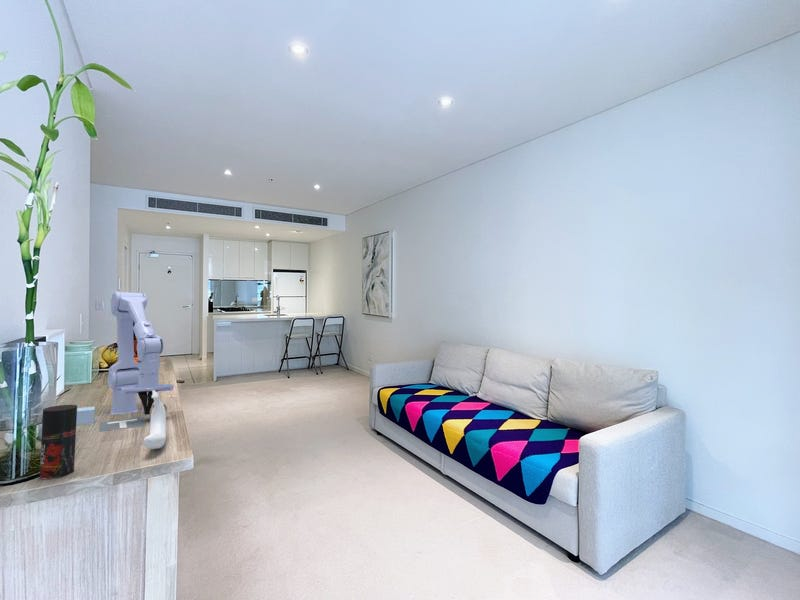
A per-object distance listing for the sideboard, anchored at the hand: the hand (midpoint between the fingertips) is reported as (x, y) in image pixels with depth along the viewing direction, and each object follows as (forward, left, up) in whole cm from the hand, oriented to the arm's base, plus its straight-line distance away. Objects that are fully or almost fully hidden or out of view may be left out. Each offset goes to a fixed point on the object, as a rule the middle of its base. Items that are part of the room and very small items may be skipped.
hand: (146, 413), depth 129 cm
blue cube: (-8, -16, -3) cm, 19 cm away
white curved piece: (+29, 0, -3) cm, 29 cm away
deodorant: (+36, -20, -3) cm, 41 cm away
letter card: (0, -6, -3) cm, 7 cm away
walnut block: (0, +2, 0) cm, 2 cm away
